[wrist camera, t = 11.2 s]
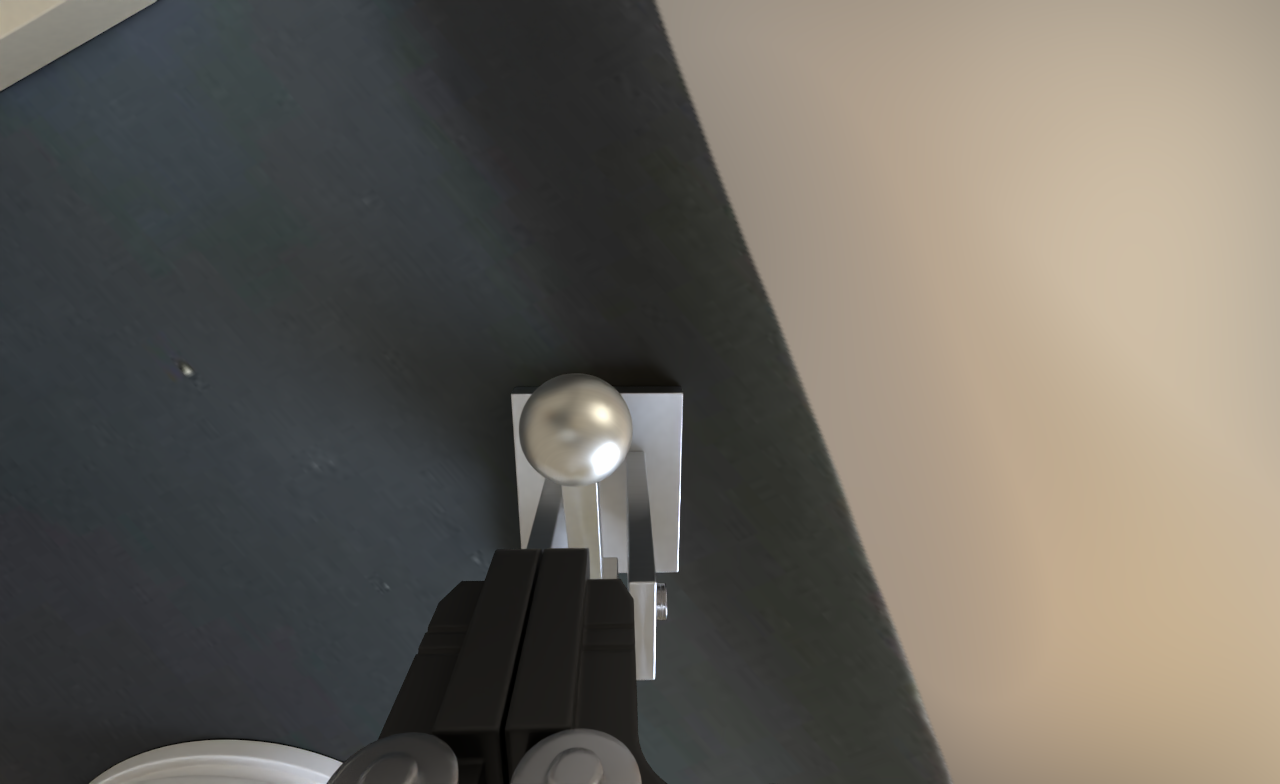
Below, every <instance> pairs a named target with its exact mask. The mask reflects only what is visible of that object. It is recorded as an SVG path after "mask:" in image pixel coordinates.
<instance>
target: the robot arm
mask: <svg viewBox="0 0 1280 784" xmlns="http://www.w3.org/2000/svg"><path fill="white" fill-rule="evenodd" d="M327 784H667V783H666V782H664V781H663V780H662V779H661V778H660V777H659V776H658V775H657V774H656V773H655V772H654V771H653V770H652V768H651V767H650V766H649V764H648V763H647V761H646V759H645V757H644V755H643V753H642V750H641V747H640V744H639V737H638V716H637V684H636V653H635V621H634V599H633V597H632V596H631V594H630V593H629V591H628V590H627V588H626V587H625V585H624V584H623V582H622V581H621V579H590V556H589V548H545V549H544V551H542V549H497V550H496V551H495V553H494V556H493V559H492V561H491V564H490V567H489V570H488V573H487V576H486V579H485V581H461V582H460V583H459V584H458V585H457V586H456V587H455V588H454V589H453V590H452V591H451V592H450V593H449V594H448V595H447V596H446V597H444V598H443V599H442V600H441V601H440V602H439V604H438V606H437V608H436V611H435V613H434V615H433V617H432V620H431V622H430V624H429V626H428V632H427V633H425V635H424V638H423V640H422V642H421V644H420V647H419V651H418V654H416V656H415V658H414V660H413V662H412V664H411V667H410V669H409V671H408V673H407V676H406V678H405V680H404V682H403V685H402V687H401V689H400V691H399V694H398V696H397V698H396V700H395V703H394V705H393V707H392V709H391V712H390V714H389V716H388V718H387V721H386V723H385V725H384V727H383V730H382V732H381V734H380V736H379V739H378V740H377V741H375V742H372V743H371V744H369V745H367V746H365V747H363V748H362V749H360V750H359V751H357V752H356V753H355V754H353V755H352V756H350V757H349V758H348V759H347V760H346V761H345V762H344V763H343V764H342V765H341V766H340V767H339V768H338V769H337V770H336V771H335V772H334V774H333V775H332V776H331V778H330V779H329V781H328V782H327Z"/></svg>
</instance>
